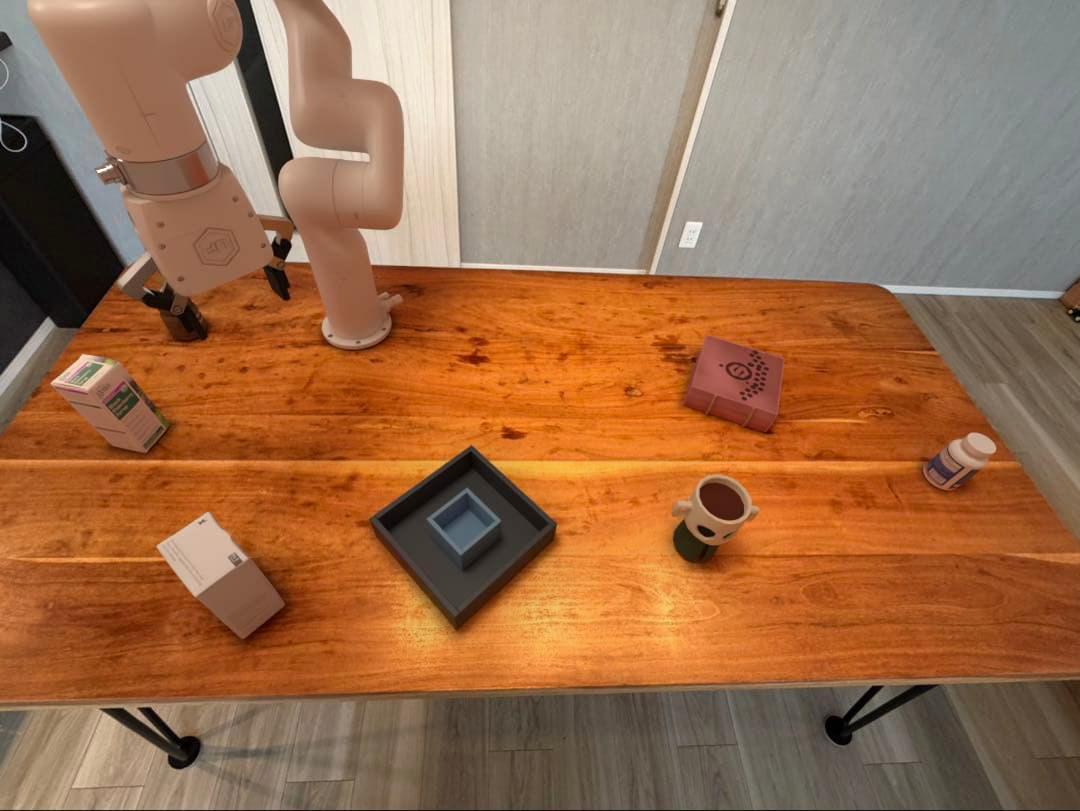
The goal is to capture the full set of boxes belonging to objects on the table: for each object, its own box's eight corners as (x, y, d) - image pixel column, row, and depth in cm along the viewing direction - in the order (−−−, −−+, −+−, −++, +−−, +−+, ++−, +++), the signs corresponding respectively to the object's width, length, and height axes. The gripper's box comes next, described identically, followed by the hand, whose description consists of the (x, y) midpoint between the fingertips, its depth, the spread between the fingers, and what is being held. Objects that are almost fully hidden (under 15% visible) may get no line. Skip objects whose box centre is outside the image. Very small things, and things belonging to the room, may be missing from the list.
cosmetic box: (209, 596, 65) (148, 545, 53) (254, 562, 68) (206, 507, 57) (245, 643, 62) (190, 599, 50) (291, 605, 65) (248, 555, 53)
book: (682, 408, 91) (690, 389, 87) (698, 353, 100) (706, 334, 96) (764, 436, 88) (777, 418, 84) (773, 377, 97) (784, 358, 93)
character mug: (658, 565, 72) (684, 521, 62) (653, 518, 76) (676, 470, 66) (735, 570, 72) (774, 527, 62) (725, 523, 76) (760, 476, 67)
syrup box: (146, 454, 77) (88, 390, 66) (110, 446, 78) (47, 381, 67) (171, 425, 81) (120, 360, 70) (137, 418, 81) (81, 351, 70)
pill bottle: (953, 469, 86) (997, 434, 79) (959, 496, 83) (1005, 462, 75) (919, 459, 87) (959, 424, 79) (924, 485, 83) (966, 450, 76)
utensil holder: (175, 346, 92) (140, 291, 83) (169, 325, 95) (134, 270, 86) (211, 335, 94) (181, 280, 85) (204, 315, 97) (174, 261, 88)
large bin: (472, 463, 80) (471, 444, 76) (554, 540, 73) (557, 523, 69) (375, 535, 71) (368, 518, 68) (457, 631, 64) (454, 617, 60)
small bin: (468, 505, 75) (467, 487, 71) (501, 537, 72) (501, 520, 68) (429, 535, 71) (426, 518, 68) (462, 571, 69) (460, 555, 65)
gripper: (72, 216, 39) (178, 369, 53) (282, 150, 48) (328, 296, 61) (38, 178, 42) (147, 332, 56) (242, 122, 51) (294, 267, 64)
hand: (242, 313), depth 58 cm, fingers open, 9 cm apart
